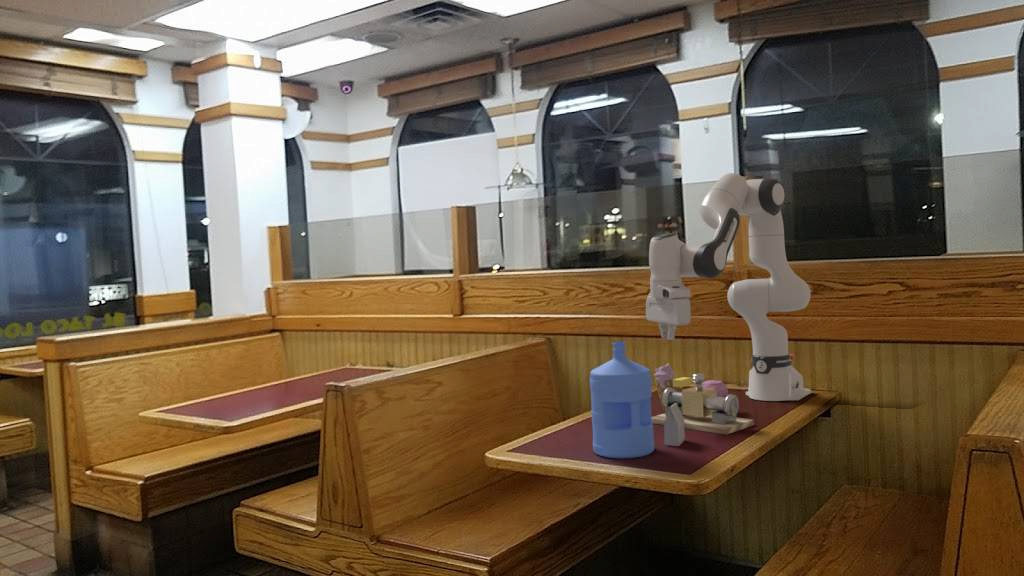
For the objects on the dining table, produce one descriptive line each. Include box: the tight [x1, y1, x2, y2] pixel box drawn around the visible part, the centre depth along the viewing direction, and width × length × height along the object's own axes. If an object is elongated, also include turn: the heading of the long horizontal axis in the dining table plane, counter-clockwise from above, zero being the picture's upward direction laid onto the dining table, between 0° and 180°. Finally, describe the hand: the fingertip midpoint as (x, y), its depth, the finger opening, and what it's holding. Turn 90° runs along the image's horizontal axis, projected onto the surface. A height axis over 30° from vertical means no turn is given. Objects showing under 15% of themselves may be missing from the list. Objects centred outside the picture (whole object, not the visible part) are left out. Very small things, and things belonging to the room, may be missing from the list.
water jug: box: [589, 341, 655, 459], centre depth 212 cm, size 16×16×28 cm
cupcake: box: [702, 379, 729, 398], centre depth 254 cm, size 9×9×10 cm
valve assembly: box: [651, 382, 755, 436], centre depth 239 cm, size 14×26×12 cm, turn 43°
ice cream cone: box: [653, 362, 675, 412], centre depth 259 cm, size 7×6×15 cm
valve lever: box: [673, 373, 706, 388], centre depth 236 cm, size 12×3×2 cm, turn 133°
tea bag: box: [663, 403, 686, 447], centre depth 219 cm, size 4×7×10 cm, turn 155°
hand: (668, 338), depth 238 cm, fingers closed
